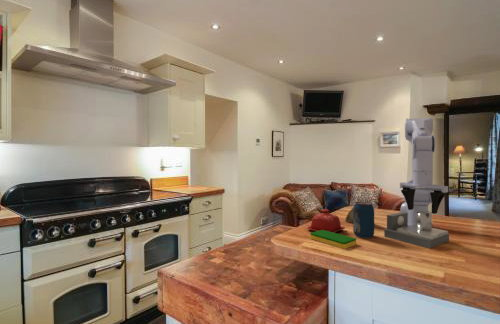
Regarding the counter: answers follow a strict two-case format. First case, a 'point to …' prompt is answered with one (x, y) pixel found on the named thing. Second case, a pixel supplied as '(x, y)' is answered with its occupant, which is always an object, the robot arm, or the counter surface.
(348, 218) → the rock
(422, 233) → the scale pan
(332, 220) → the butter dish
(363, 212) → the soda can
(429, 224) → the steel weight
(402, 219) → the scale
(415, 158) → the robot arm
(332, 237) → the dish sponge
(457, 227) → the counter surface
